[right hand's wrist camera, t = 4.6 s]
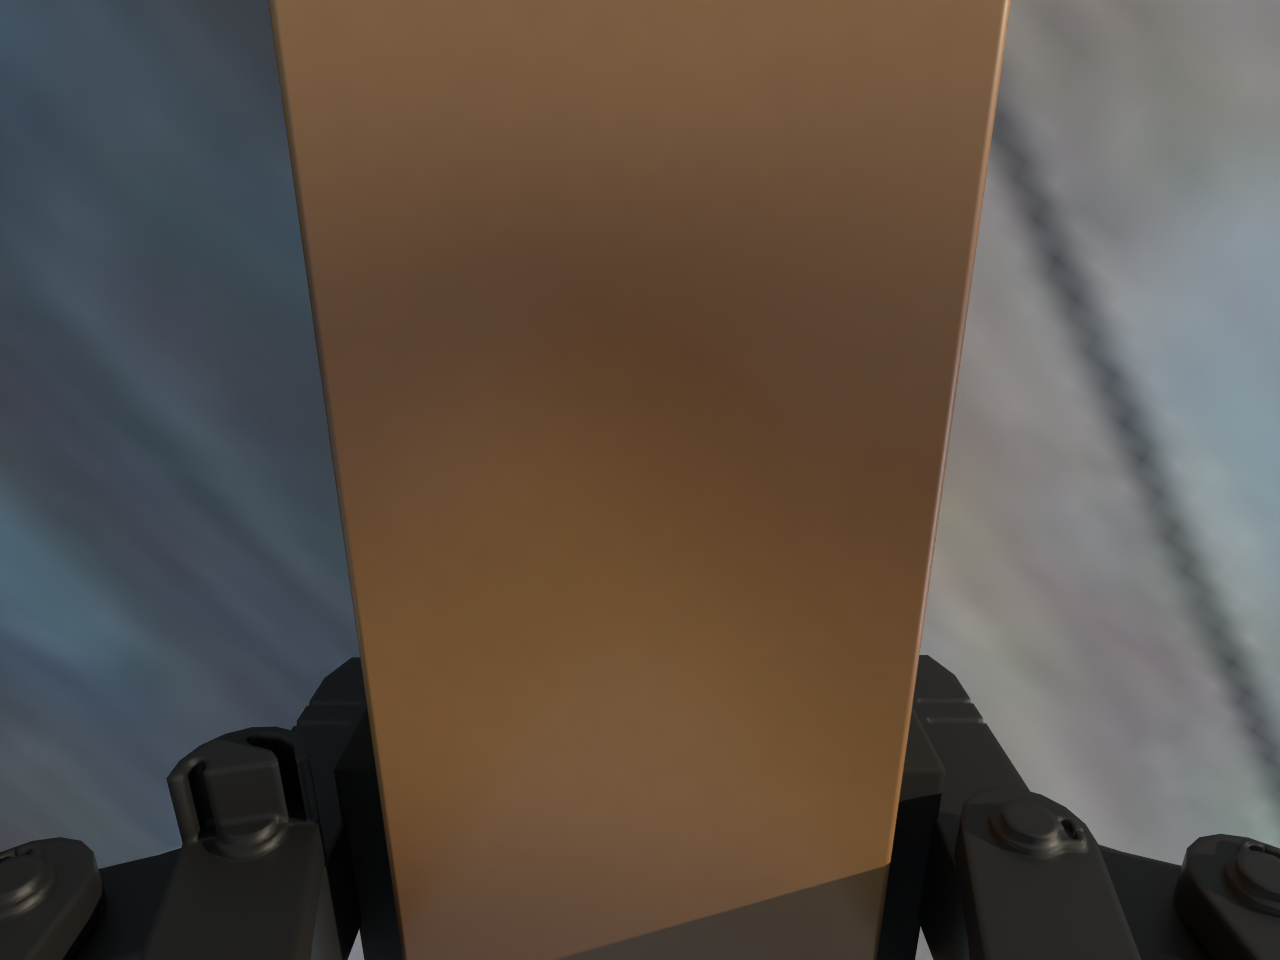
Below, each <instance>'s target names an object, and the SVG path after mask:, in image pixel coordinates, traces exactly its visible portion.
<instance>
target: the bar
mask: <svg viewBox="0 0 1280 960" xmlns="http://www.w3.org/2000/svg"><path fill="white" fill-rule="evenodd" d="M268 2H269V9H270V17H271V24H272V31H273V38H274V45H275V52H276V59H277V67H278V74H279V81H280V88H281V95H282V102H283V109H284V116H285V124H286V131H287V138H288V145H289V152H290V159H291V166H292V173H293V181H294V188H295V195H296V202H297V209H298V216H299V223H300V230H301V238H302V245H303V252H304V259H305V266H306V273H307V280H308V288H309V295H310V302H311V309H312V316H313V323H314V330H315V337H316V345H317V352H318V359H319V366H320V373H321V380H322V387H323V394H324V402H325V409H326V416H327V423H328V430H329V437H330V444H331V452H332V459H333V466H334V473H335V480H336V487H337V494H338V501H339V509H340V516H341V523H342V530H343V537H344V544H345V551H346V558H347V566H348V573H349V580H350V587H351V594H352V601H353V608H354V616H355V623H356V630H357V637H358V644H359V651H360V658H361V665H362V673H363V680H364V687H365V694H366V701H367V708H368V715H369V722H370V730H371V737H372V744H373V751H374V758H375V765H376V772H377V780H378V787H379V794H380V801H381V808H382V815H383V822H384V829H385V837H386V844H387V851H388V858H389V865H390V872H391V879H392V886H393V894H394V901H395V908H396V915H397V922H398V929H399V936H400V944H401V951H402V958H403V960H877V954H878V947H879V940H880V933H881V925H882V918H883V911H884V904H885V897H886V890H887V882H888V875H889V868H890V861H891V854H892V847H893V840H894V832H895V825H896V818H897V811H898V804H899V797H900V789H901V782H902V775H903V768H904V761H905V754H906V747H907V739H908V732H909V725H910V718H911V711H912V704H913V696H914V689H915V682H916V675H917V668H918V661H919V654H920V646H921V639H922V632H923V625H924V618H925V611H926V604H927V596H928V589H929V582H930V575H931V568H932V561H933V553H934V546H935V539H936V532H937V525H938V518H939V511H940V503H941V496H942V489H943V482H944V475H945V468H946V460H947V453H948V446H949V439H950V432H951V425H952V418H953V410H954V403H955V396H956V389H957V382H958V375H959V367H960V360H961V353H962V346H963V339H964V332H965V325H966V317H967V310H968V303H969V296H970V289H971V282H972V275H973V267H974V260H975V253H976V246H977V239H978V232H979V224H980V217H981V210H982V203H983V196H984V189H985V182H986V174H987V167H988V160H989V153H990V146H991V139H992V131H993V124H994V117H995V110H996V103H997V96H998V89H999V81H1000V74H1001V67H1002V60H1003V53H1004V46H1005V38H1006V31H1007V24H1008V17H1009V10H1010V3H1011V0H268Z"/></svg>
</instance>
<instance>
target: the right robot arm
mask: <svg viewBox="0 0 1280 960" xmlns="http://www.w3.org/2000/svg"><path fill="white" fill-rule="evenodd" d="M167 783H168V787H169V791H170V794H171V798H172V802H173V806H174V810H175V814H176V818H177V822H178V826H179V830H180V834H181V838H182V842H183V845H182V847H181V848H179V849H176V850H173V851H170V852H166V853H163V854H160V855H156V856H152V857H148V858H144V859H139V860H135V861H131V862H127V863H123V864H118V865H114V866H110V867H106V868H102V869H98V866H97V863H96V860H95V856H94V853H93V851H92V850H91V849H90V848H88V847H87V846H86V845H85V844H84V843H83V842H82V841H79V840H73V839H67V838H61V837H59V838H51V839H44V840H37V841H31V842H28V843H25V844H23V845H20V846H17V847H14V848H11V849H8V850H5V851H3V852H0V960H348V957H349V954H350V952H351V949H352V946H353V944H354V941H355V938H356V936H357V933H358V931H359V929H360V935H361V941H362V947H363V954H364V960H403V958H402V951H401V944H400V936H399V929H398V922H397V915H396V908H395V901H394V894H393V886H392V879H391V872H390V865H389V858H388V851H387V844H386V837H385V829H384V822H383V815H382V808H381V801H380V794H379V787H378V780H377V772H376V765H375V758H374V751H373V744H372V737H371V730H370V722H369V715H368V708H367V701H366V694H365V687H364V680H363V673H362V665H361V658H351V659H349V660H348V661H347V662H345V663H344V664H343V665H341V666H340V667H339V668H337V669H336V670H335V671H333V672H332V673H331V674H329V675H328V676H327V677H325V678H324V680H323V681H322V683H321V685H320V686H319V688H318V689H317V691H316V692H315V694H314V695H313V697H312V699H311V700H310V705H309V706H306V708H305V709H304V711H303V713H302V714H301V716H300V717H299V719H298V720H297V726H294V727H293V728H292V730H291V731H290V730H287V729H283V728H279V727H251V728H247V729H243V730H239V731H235V732H231V733H227V734H224V735H222V736H220V737H218V738H215V739H213V740H211V741H209V742H207V743H205V744H202V745H200V746H199V747H198V748H196V749H195V750H194V751H192V752H191V753H190V754H188V755H187V756H186V757H184V758H183V759H182V760H180V761H179V762H178V764H177V765H176V766H175V768H174V769H173V770H172V772H171V773H170V775H169V776H168V777H167ZM920 926H921V928H922V931H923V933H924V936H925V939H926V941H927V944H928V947H929V949H930V952H931V954H932V957H933V960H1280V849H1279V848H1276V847H1274V846H1271V845H1268V844H1265V843H1262V842H1259V841H1256V840H1253V839H1251V838H1247V837H1240V836H1232V835H1225V834H1217V835H1211V836H1205V837H1199V838H1198V839H1197V840H1196V841H1195V842H1194V843H1193V844H1191V845H1190V846H1189V847H1188V848H1187V851H1186V854H1185V857H1184V861H1183V864H1182V866H1180V865H1175V864H1171V863H1167V862H1163V861H1159V860H1154V859H1150V858H1146V857H1142V856H1137V855H1133V854H1129V853H1125V852H1121V851H1118V850H1114V849H1111V848H1108V847H1105V846H1101V845H1099V844H1098V843H1097V842H1096V840H1095V838H1094V837H1093V835H1092V834H1091V832H1090V831H1089V829H1088V827H1087V826H1086V824H1085V823H1084V822H1082V821H1081V820H1080V819H1079V818H1078V817H1076V816H1075V815H1074V814H1073V813H1072V812H1071V811H1069V810H1068V809H1067V808H1066V807H1064V806H1062V805H1060V804H1058V803H1056V802H1054V801H1052V800H1051V799H1049V798H1047V797H1045V796H1043V795H1040V794H1037V793H1033V792H1030V790H1029V789H1028V787H1027V786H1026V784H1025V783H1024V781H1023V780H1022V778H1021V777H1020V775H1019V773H1018V772H1017V770H1016V769H1015V767H1014V766H1013V764H1012V763H1011V761H1010V760H1009V758H1008V756H1007V755H1006V753H1005V752H1004V750H1003V749H1002V747H1001V746H1000V744H999V743H998V741H997V739H996V738H995V736H994V735H993V733H992V732H991V730H990V729H989V727H988V726H987V724H986V723H983V718H982V716H981V715H980V713H979V712H978V710H977V709H976V707H975V705H974V704H971V703H970V698H969V696H968V695H967V693H966V692H965V690H964V688H963V687H962V685H961V684H960V682H959V681H958V679H957V678H956V676H955V675H954V674H953V673H951V672H950V671H948V670H947V669H946V668H944V667H943V666H942V665H940V664H939V663H938V662H936V661H935V660H934V659H932V658H931V657H930V656H928V655H919V661H918V668H917V675H916V682H915V689H914V696H913V704H912V711H911V718H910V725H909V732H908V739H907V747H906V754H905V761H904V768H903V775H902V782H901V789H900V797H899V804H898V811H897V818H896V825H895V832H894V840H893V847H892V854H891V861H890V868H889V875H888V882H887V890H886V897H885V904H884V911H883V918H882V925H881V933H880V940H879V947H878V954H877V960H915V956H916V950H917V944H918V938H919V932H920Z"/></svg>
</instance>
